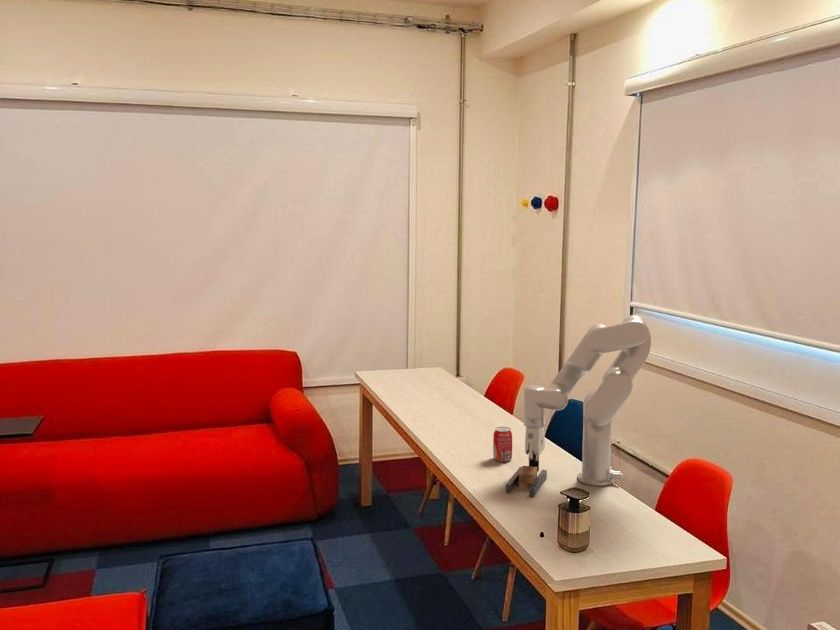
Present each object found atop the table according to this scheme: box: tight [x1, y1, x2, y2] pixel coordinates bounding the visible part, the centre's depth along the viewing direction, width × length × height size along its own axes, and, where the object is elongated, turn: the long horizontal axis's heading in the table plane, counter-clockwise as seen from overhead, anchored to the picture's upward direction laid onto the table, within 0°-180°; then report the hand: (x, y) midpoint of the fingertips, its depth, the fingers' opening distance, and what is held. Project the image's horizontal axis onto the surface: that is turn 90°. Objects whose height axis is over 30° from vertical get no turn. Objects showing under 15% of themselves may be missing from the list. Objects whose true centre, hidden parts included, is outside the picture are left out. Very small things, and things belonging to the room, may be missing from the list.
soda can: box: [492, 426, 513, 463], centre depth 281 cm, size 7×7×12 cm
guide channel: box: [505, 466, 548, 498], centre depth 256 cm, size 10×18×3 cm, turn 157°
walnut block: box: [518, 465, 538, 489], centre depth 257 cm, size 5×8×5 cm, turn 163°
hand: (533, 471), depth 265 cm, fingers closed
